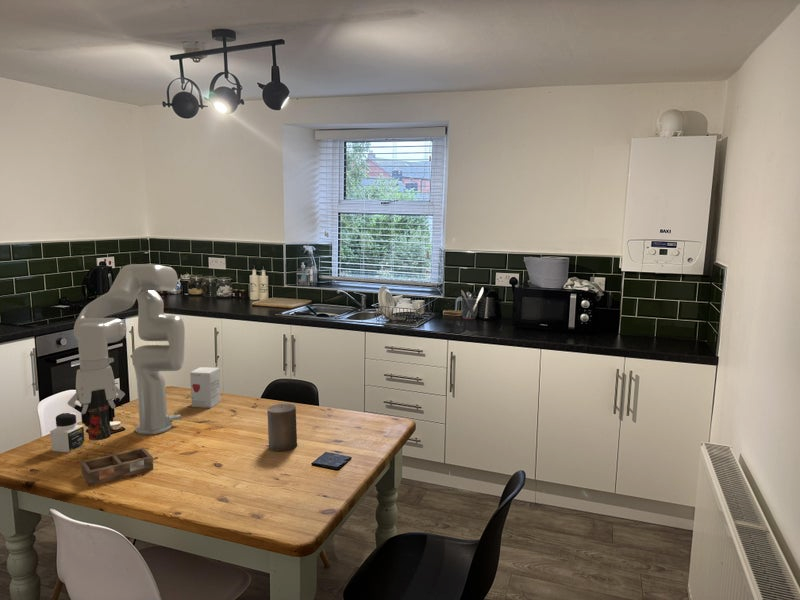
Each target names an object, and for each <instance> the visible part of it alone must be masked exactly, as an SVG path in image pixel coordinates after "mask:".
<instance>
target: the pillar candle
mask: <svg viewBox="0 0 800 600" xmlns="http://www.w3.org/2000/svg"><path fill="white" fill-rule="evenodd" d="M266 411H267V436H268V449H269V450H271V451H275V452H283V451H285V452H286V451H291V450H294V449H296V448H297V447H298V436H297V435H298V434H297V433H298V432H297V408H296V405H294V404H292V403H277V404H272V405H270V406H268V407H267V410H266Z"/></svg>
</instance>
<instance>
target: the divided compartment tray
mask: <svg viewBox="0 0 800 600" xmlns="http://www.w3.org/2000/svg"><path fill="white" fill-rule="evenodd" d="M80 467H81V468H80V469H81V476H82V475H83V476H82V477H83V479H84V480H85V482H86V483H87V485H88V486H89V487H92V486H96V485H99V484H102V482H103V483H107V482H111V481H114V479H115V480H118V479H122V478H126V477H129V476H133V475H136V474H137V475H138V474H141V473H145V472H148V471H152V470H154V459H153V456H152V455H151V453H150V452H148V451H147V449H145V447H143V446H142V447H138V448H135V449H134V448H133V449H131V450H126V451H122V452H118V453H113V454H110V455H106V456H105V455H104V456H101V457H97V458H92V459H88V460H85V461H84V460H83V461H80ZM110 480H111V481H110ZM106 481H107V482H106ZM95 484H96V485H95ZM91 485H92V486H91Z"/></svg>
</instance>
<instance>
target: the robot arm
mask: <svg viewBox="0 0 800 600" xmlns="http://www.w3.org/2000/svg"><path fill="white" fill-rule="evenodd" d="M178 279H179V277H178V274H177V271H176V270H175V269H174V268H173V267H171V266H167V265H161V264H156V263H155V264H152V263H150V264H149V263H138V264H137V263H132V264H126V265H124V266H122V268H121V269H120V270H119V271H118V274H117V275H116V277H115V279H114V281H113V283H112V284H111V287H110V289H109V290H108V292H106V293H104V294H102V295H101V296H98V297H97V298H95V299H94V300H92V301H90V302H89V303H87V305H85V306H84V307H83V309H82V310H81V311H80V313H79V314H78V316H77V318H76V320H75V323H74V326H73V335H74V338H75V339H76V340H77V345H78V357H79V369H77V370H76V376H75V393H74V394H73V395H72V397H71V398H70V399H69V400H68V402H66V403H67V405H68V406H70V407H71V408H72V409H74V410H76V412H79V413H80V416H81V425H82V424H83V426H85V427H86V428H88V426H89V418H88V413H87V408H88V404H89V403H90V402H91V391H97V390H103V389H105V393H106V399H107V400H108V403H109V417H110V423H111V422H114V419H115V417H116V415H115V412H116V411H115V408H116V406H117V405H118V404H119V403H120V401H121V400H122V398H124V397H125V396H126V393H125V392H124V391H122V390H121V389H120V388H119V387H117V386H116V381H115V376H114V371H113V369H112V366H111V365H110V364H111V363H114V362H115V359H114V357H109V350H108V344H112V343H113V344H114V343H117V342H119V341H121V340H123V339H124V337H125V335H126V334H127V324H126V323H125V322H124V320H123V319H120V318H118V317H108V316H111V315H114V314H118V313H121V312H124V311H127V310H128V309H129V310H130V309H131V308H133V306H134V304H136V300H137V304H138V313H137V314H138V317H137V335H138V337H139V339H140V340H141V341H144V342H145V341H146V342H168V344H146V345H141V346H138V347H136V348H135V349H134V350H133V353H132V354H131V356H132V357H131V359H132V360H131V361H132V365H133V368H134V371H135V377H136V378H135V379H136V387H137V388H136V389H137V403H138V407H137V408H138V419H139V420H138V421H139V424H138V425H137V426H135V428H134V429H135V430H134V431H135V433H136V434H138V435H139V434H140V435H146V436H147V435H149V436H150V435H156V434H157V435H158V434H162V433H165V432H167V431H169V430H171V429H172V428H173V421H179V420H181V419H182V416H181V414H174V413H173V414H170V415H169V414H168V409H167V407H168V406H167V390H166V381H165V378H164V376H163V375H162V374H161V372H177V371H180V370H181V369H182V368H183V366H184V362H185V361H184V360H185V339H186V338H185V331H186V329H185V325H184V324H185V323H184V321H183V319H182V318H181V317H180V316H179V315H175V314H174V315H173V314H171V315H170V314H169V315H166V314H165V313H164V308H165V307H164V300H163V298H162V297H161V295H160V294H159V293H158V292H163V291H165V292H167V291H172V290H174V289H175V288H176V287H177V284H178ZM157 291H158V292H157ZM76 401H78V402H79V404H80V405H79V404H77V403H76Z"/></svg>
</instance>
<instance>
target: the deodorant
mask: <svg viewBox="0 0 800 600" xmlns="http://www.w3.org/2000/svg"><path fill="white" fill-rule="evenodd" d="M87 413H88V418H89V426H88V427H87V432H88V434H87V436H88V440H90V441H93V442H94V441H95V442H96V441H103V440H106V439H109V438H110V437H111V435H112V433H111V421H110V417H109V403H108V400H107V399H106V393H105V389H103V390H97V391H91V402H90V403H89V404H88V408H87Z"/></svg>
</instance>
